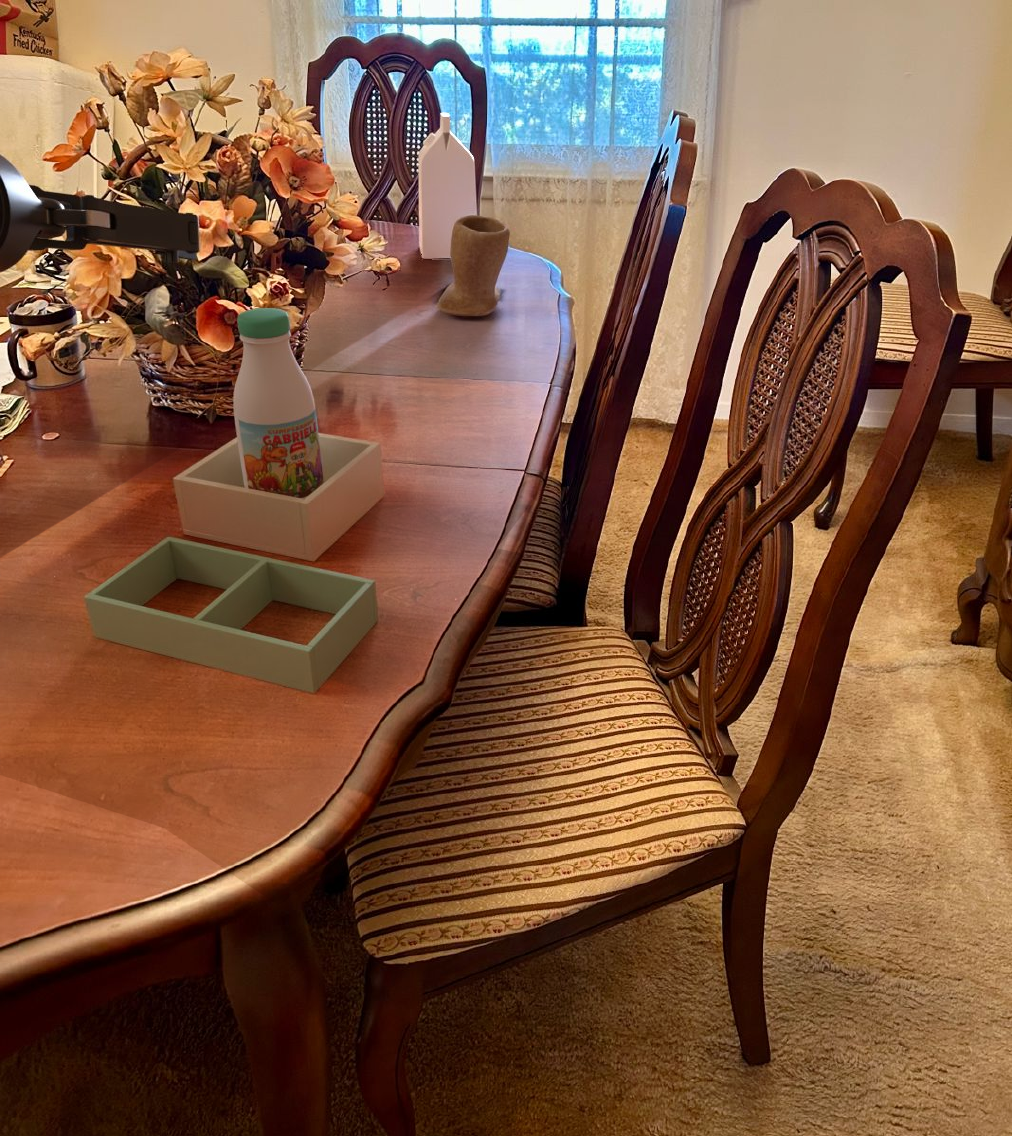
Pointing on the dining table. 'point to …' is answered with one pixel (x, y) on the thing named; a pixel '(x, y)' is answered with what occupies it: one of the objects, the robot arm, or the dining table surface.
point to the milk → (443, 189)
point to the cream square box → (281, 500)
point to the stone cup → (475, 266)
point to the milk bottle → (274, 410)
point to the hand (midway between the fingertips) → (106, 238)
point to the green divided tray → (234, 612)
